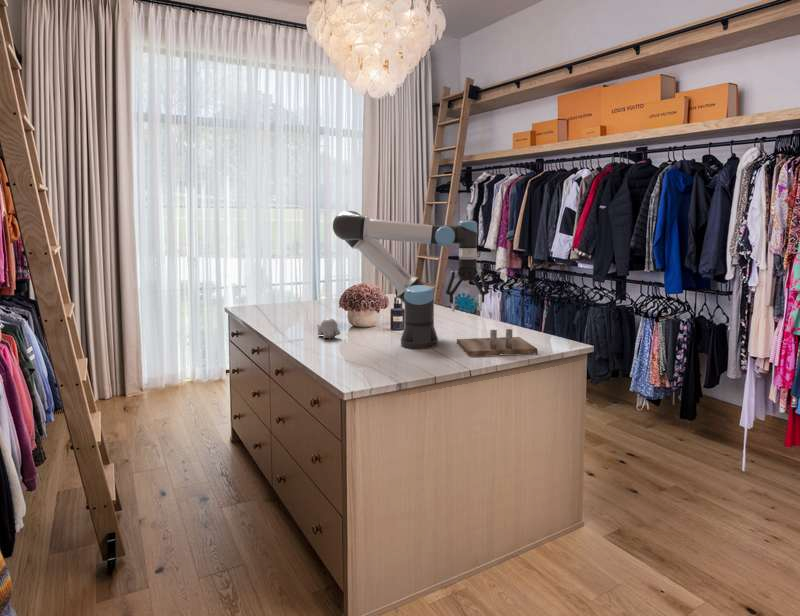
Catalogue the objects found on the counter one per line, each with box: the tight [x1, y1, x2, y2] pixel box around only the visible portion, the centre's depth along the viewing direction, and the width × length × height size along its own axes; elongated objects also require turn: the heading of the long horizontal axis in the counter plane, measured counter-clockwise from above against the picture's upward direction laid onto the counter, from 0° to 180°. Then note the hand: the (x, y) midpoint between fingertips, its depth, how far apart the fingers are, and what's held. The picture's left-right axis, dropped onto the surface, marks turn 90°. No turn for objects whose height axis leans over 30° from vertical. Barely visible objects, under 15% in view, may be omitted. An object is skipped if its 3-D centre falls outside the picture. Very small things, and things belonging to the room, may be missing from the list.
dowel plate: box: [456, 328, 538, 357], centre depth 232 cm, size 26×22×9 cm
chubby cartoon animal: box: [317, 317, 341, 339], centre depth 258 cm, size 7×12×8 cm, turn 43°
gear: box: [455, 292, 479, 314], centre depth 253 cm, size 11×6×10 cm
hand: (466, 310), depth 252 cm, fingers closed on gear, 11 cm apart
